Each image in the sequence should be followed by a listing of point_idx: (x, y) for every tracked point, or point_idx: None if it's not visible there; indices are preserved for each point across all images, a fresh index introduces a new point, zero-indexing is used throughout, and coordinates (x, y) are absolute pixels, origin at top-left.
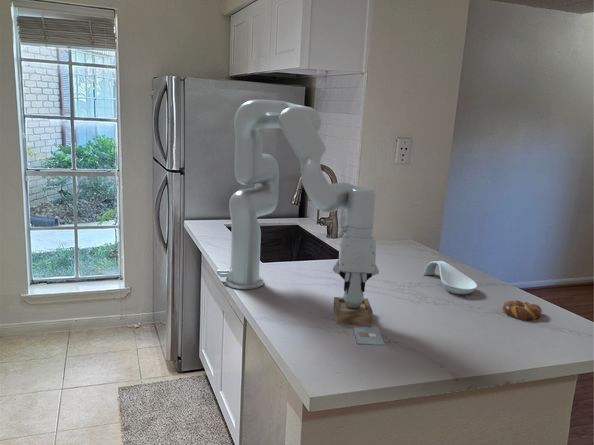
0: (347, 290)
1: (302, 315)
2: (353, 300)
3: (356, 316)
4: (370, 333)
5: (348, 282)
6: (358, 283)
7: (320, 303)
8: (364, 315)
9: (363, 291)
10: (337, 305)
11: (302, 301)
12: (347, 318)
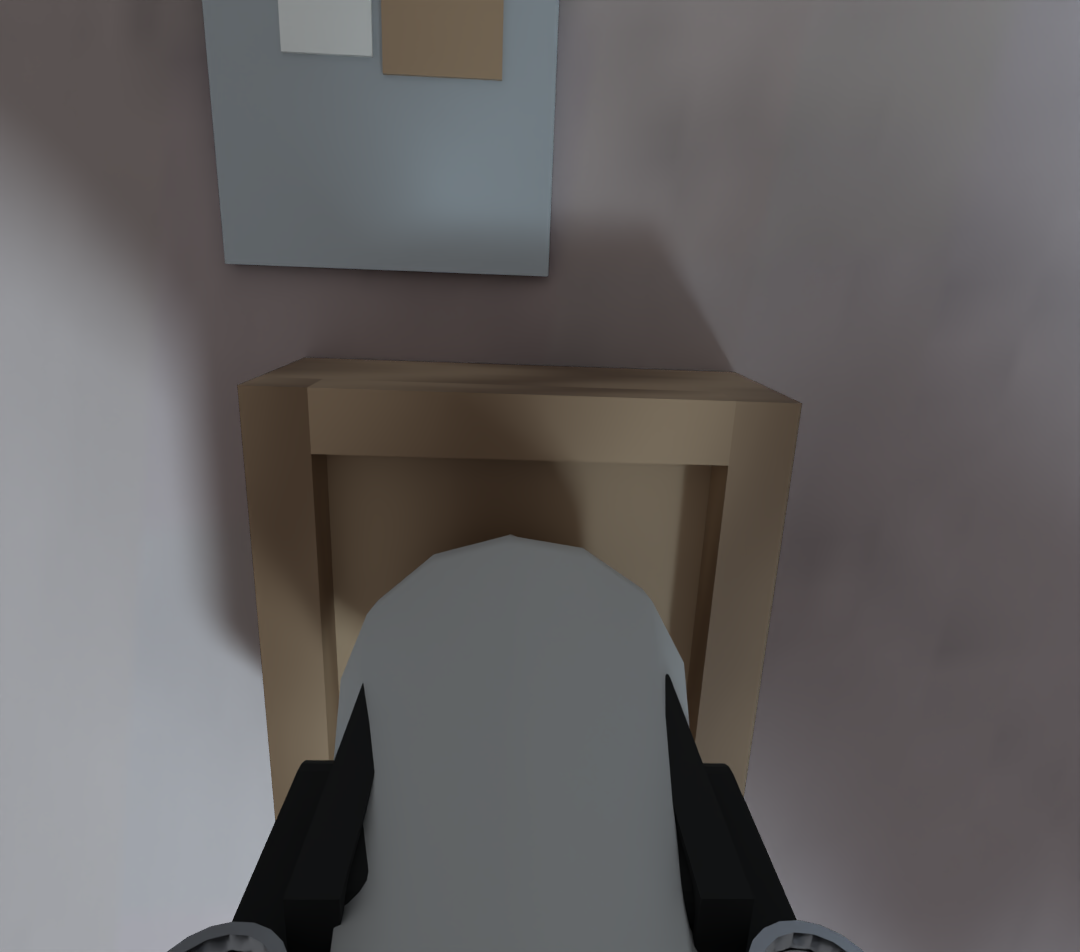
0: (685, 728)
1: (1062, 563)
2: (544, 558)
3: (496, 379)
4: (346, 47)
5: (734, 894)
6: (435, 863)
7: (792, 860)
8: (380, 380)
9: (322, 762)
10: (754, 580)
11: (965, 885)
12: (614, 378)
